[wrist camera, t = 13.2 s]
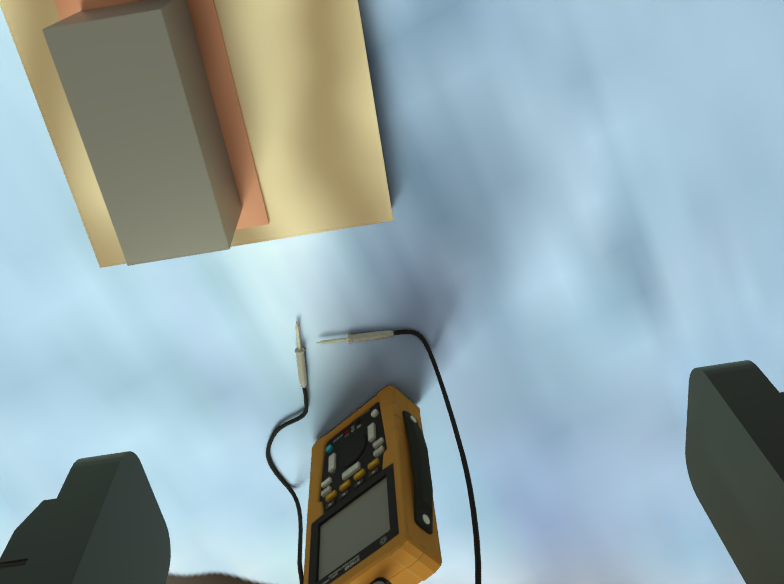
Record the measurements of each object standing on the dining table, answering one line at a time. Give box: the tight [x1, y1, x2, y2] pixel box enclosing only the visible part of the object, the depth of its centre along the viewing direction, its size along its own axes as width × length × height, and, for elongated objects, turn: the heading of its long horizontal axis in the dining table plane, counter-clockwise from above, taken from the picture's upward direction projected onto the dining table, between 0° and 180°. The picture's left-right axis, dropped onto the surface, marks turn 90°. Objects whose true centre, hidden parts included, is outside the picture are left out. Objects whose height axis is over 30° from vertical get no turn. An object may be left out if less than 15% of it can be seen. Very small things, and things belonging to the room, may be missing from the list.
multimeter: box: [266, 321, 481, 584], centre depth 38 cm, size 15×10×20 cm
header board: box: [0, 0, 393, 268], centre depth 36 cm, size 16×15×5 cm
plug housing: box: [42, 0, 242, 266], centre depth 34 cm, size 5×11×5 cm, turn 9°
